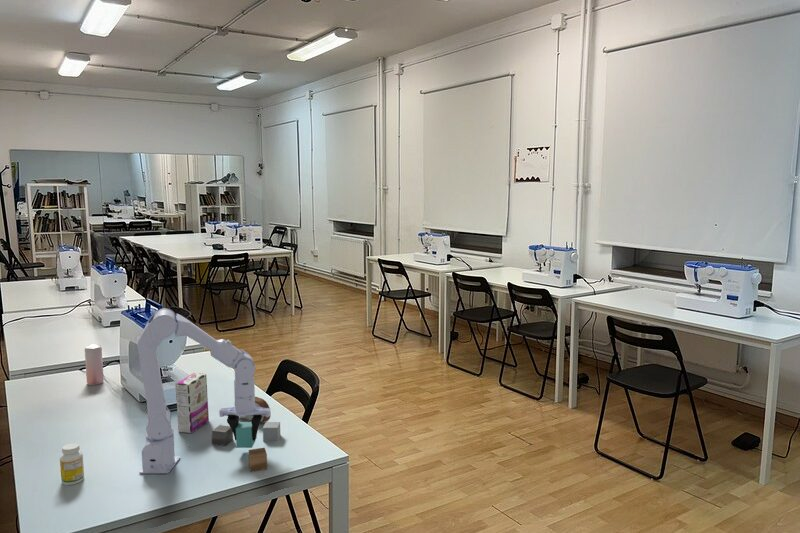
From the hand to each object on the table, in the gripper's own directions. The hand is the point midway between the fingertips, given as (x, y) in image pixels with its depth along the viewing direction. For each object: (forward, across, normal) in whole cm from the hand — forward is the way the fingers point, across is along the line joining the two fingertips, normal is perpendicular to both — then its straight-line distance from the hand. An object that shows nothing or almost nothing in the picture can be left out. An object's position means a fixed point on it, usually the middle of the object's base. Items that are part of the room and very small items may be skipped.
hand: (245, 439), depth 175 cm
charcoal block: (+4, -9, +7) cm, 12 cm away
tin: (+4, -4, +24) cm, 25 cm away
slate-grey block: (+4, +6, +10) cm, 12 cm away
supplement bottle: (+4, -42, -17) cm, 46 cm away
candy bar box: (+4, -22, +19) cm, 29 cm away
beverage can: (+4, -75, +61) cm, 97 cm away
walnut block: (+4, +6, -9) cm, 11 cm away
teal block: (+2, 0, 0) cm, 2 cm away
